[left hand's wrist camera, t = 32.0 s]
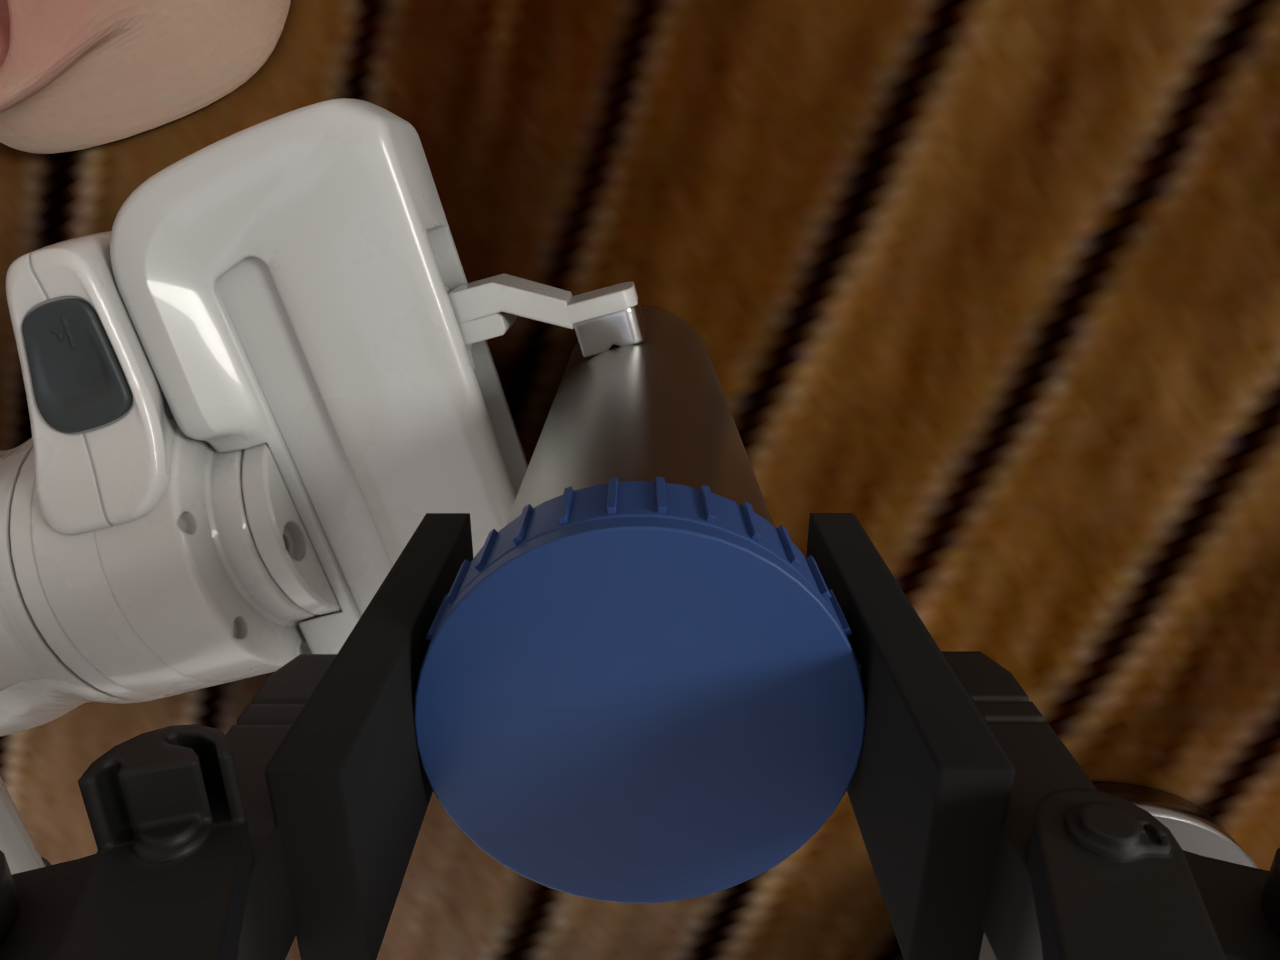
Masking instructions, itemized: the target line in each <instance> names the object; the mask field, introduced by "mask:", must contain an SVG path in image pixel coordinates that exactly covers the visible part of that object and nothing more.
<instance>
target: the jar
mask: <svg viewBox="0 0 1280 960" xmlns="http://www.w3.org/2000/svg"><path fill="white" fill-rule="evenodd" d="M640 308H641V312H642V316H643V321H644V325H645V329H646V336H647V337H646V339H645V340H643V341H641V342H639V343H636V344H633V345H629V346H623V347H621V346H618V345H615V344H613V345H612V346H611V347H610V349H609V350H607V351H605V352H602V353H600V354H596V355H592V356H588V357H583V354H582V351H581V348H580V345H579V342H578V341H577V343H576V345H575V347H574V349H573V351H572V354H571V357H570V359H569V362H568V364H567V367H566V370H565V372H564V375H563V377H562V380H561V383H560V385H559V388H558V390H557V393H556V396H555V398H554V401H553V403H552V406H551V409H550V411H549V414H548V416H547V419H546V422H545V424H544V427H543V429H542V432H541V435H540V437H539V440H538V442H537V445H536V448H535V450H534V453H533V455H532V458H531V461H530V463H529V466H528V468H527V471H526V474H525V476H524V479H523V481H522V484H521V487H520V489H519V492H518V494H517V497H516V500H515V502H514V505H513V507H512V510H511V513H510V515H509V518H508V520H507V523H506V525H508V524H509V523H510V522H512V521H513V520H514V519H516V518H517V517H519V516H520V515H521V513H522V510H523V508H524V507H525V506H526V505H528V504H530V505H531V506H532V507H533V508H534V507H536V506H538V505H540V504H541V503H543V502H545V501H548V500H550V499H553V498H555V497H558V496H561V495H563V493H564V489H565V488H568V487H571V486H572V488H573V491H575V490H579V489H583V488H587V487H591V486H595V485H600V484H608V483H609V479H610V478H615V477H617V478H618V482H624V481H655V482H656V477H664V482H665V483H671V484H679V485H685V486H689V487H693V488H697V489H701V487H702V485H706V486H709V487H710V491H711V493H714V494H717V495H719V496H722V497H724V498H727V499H729V500H732V501H734V502H736V503H738V504H740V505H742V504H743V503H744V501H746V502H748V503H750V504H751V505H752V508H753V511H754V512H755V513H756V514H758V515H760V516H761V517H762V518H764V519H765V520H767V521H768V522H769V523H771V524H772V525H773V526H774V524H773V521H772V519H771V516H770V513H769V511H768V508H767V506H766V503H765V500H764V498H763V495H762V492H761V490H760V487H759V485H758V482H757V479H756V477H755V474H754V472H753V469H752V466H751V464H750V461H749V459H748V456H747V453H746V451H745V448H744V446H743V443H742V440H741V438H740V435H739V433H738V430H737V427H736V425H735V422H734V420H733V417H732V414H731V412H730V409H729V406H728V404H727V401H726V399H725V396H724V393H723V391H722V388H721V386H720V383H719V380H718V378H717V375H716V373H715V370H714V367H713V365H712V362H711V360H710V357H709V354H708V352H707V350H706V347H705V345H704V343H703V342H702V340H701V338H700V337H699V336H698V334H697V333H696V332H695V330H694V329H693V328H692V327H691V326H690V325H688V324H687V323H686V322H685V321H684V320H682V319H681V318H679V317H678V316H676V315H674V314H672V313H670V312H668V311H665V310H662V309H659V308H654V307H647V306H640Z"/></svg>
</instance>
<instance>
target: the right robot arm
mask: <svg viewBox="0 0 1280 960" xmlns="http://www.w3.org/2000/svg"><path fill="white" fill-rule="evenodd" d="M6 296H7V302H8V307H9V312H10V317H11V322H12V326H13V331H14V335H15V340H16V344H17V349H18V354H19V359H20V364H21V369H22V374H23V380H24V385H25V391H26V396H27V403H28V409H29V416H30V423H31V432H32V438H30V439H29V440H27V441H26V442H24V443H23V444H21V445H20V446H18V447H16V448H13V449H10V450H0V736H4V735H9V734H13V733H17V732H21V731H25V730H28V729H31V728H34V727H37V726H40V725H43V724H46V723H48V722H51V721H53V720H55V719H57V718H59V717H61V716H63V715H64V714H66V713H68V712H70V711H71V710H73V709H75V708H76V707H78V706H80V705H81V704H84V703H87V702H102V703H116V704H128V703H139V702H147V701H152V700H156V699H160V698H165V697H169V696H174V695H178V694H181V693H186V692H190V691H194V690H199V689H203V688H207V687H211V686H216V685H220V684H224V683H228V682H233V681H237V680H241V679H245V678H249V677H254V676H258V675H262V674H266V673H271V672H275V671H277V670H278V669H280V668H281V667H283V666H284V665H285V664H287V663H288V662H290V661H291V660H293V659H294V658H296V657H297V656H298V655H300V654H338V652H339V651H340V649H341V648H342V646H343V644H344V643H345V641H346V640H347V638H348V636H349V635H350V633H351V632H352V630H353V629H354V627H355V625H356V624H357V622H358V621H359V619H360V617H361V616H362V614H363V613H364V611H365V610H366V608H367V606H368V605H369V603H370V602H371V600H372V598H373V597H374V595H375V594H376V592H377V591H378V589H379V587H380V586H381V584H382V583H383V581H384V580H385V578H386V576H387V575H388V573H389V572H390V570H391V568H392V567H393V565H394V564H395V562H396V561H397V559H398V557H399V556H400V554H401V553H402V551H403V549H404V548H405V546H406V545H407V543H408V542H409V540H410V538H411V537H412V535H413V534H414V532H415V530H416V529H417V527H418V526H419V524H420V523H421V521H422V519H423V518H424V516H425V515H426V513H470V520H471V533H472V546H473V558H474V557H475V556H476V555H477V553H478V552H479V551H480V549H481V548H482V547H483V546H484V544H485V541H486V539H487V536H488V534H489V532H490V531H492V530H493V529H495V530H496V531H497V532H499V531H500V530H501V529H502V528H504V527H505V526H506V523H507V520H508V518H509V515H510V513H511V510H512V507H513V505H514V502H515V500H516V497H517V494H518V492H519V489H520V487H521V484H522V481H523V479H524V476H525V474H526V471H527V468H528V463H527V460H526V457H525V454H524V451H523V448H522V445H521V442H520V439H519V436H518V433H517V430H516V427H515V424H514V421H513V418H512V415H511V412H510V409H509V406H508V403H507V400H506V397H505V394H504V391H503V388H502V385H501V382H500V379H499V376H498V373H497V370H496V367H495V364H494V361H493V358H492V355H491V352H490V349H489V346H488V343H487V339H490V338H494V337H498V336H501V335H504V334H505V332H506V331H507V330H508V329H509V328H510V327H511V325H512V324H513V323H514V322H515V320H516V318H517V316H521V317H525V318H529V319H533V320H537V321H542V322H546V323H550V324H554V325H558V326H562V327H566V328H570V329H575V332H576V335H577V338H578V342H579V345H580V348H581V351H582V354H583V357H588V356H592V355H596V354H600V353H602V352H605V351H607V350H609V349H610V347H611V346H612V345H613V344H615V345H618V346H621V347H623V346H629V345H633V344H636V343H639V342H641V341H643V340H645V339H646V337H647V336H646V329H645V325H644V321H643V316H642V312H641V308H640V304H639V300H638V296H637V293H636V289H635V285H634V282H624V283H619V284H616V285H612V286H608V287H605V288H601V289H597V290H594V291H590V292H586V293H582V294H579V295H575V296H572V293H571V292H570V291H566V290H562V289H559V288H555V287H552V286H548V285H544V284H541V283H537V282H534V281H530V280H526V279H523V278H519V277H516V276H512V275H508V274H505V273H504V274H500V275H496V276H493V277H489V278H485V279H482V280H478V281H475V282H471V283H467V280H466V277H465V274H464V271H463V268H462V265H461V262H460V259H459V256H458V253H457V250H456V247H455V244H454V241H453V238H452V235H451V232H450V229H449V226H448V223H447V220H446V217H445V214H444V211H443V208H442V205H441V202H440V199H439V196H438V193H437V190H436V187H435V184H434V180H433V177H432V174H431V171H430V168H429V165H428V162H427V159H426V156H425V153H424V150H423V147H422V144H421V141H420V138H419V136H418V133H417V132H416V130H415V128H414V127H413V126H412V125H411V124H410V123H409V122H407V121H405V120H404V119H402V118H400V117H398V116H397V115H395V114H393V113H391V112H389V111H388V110H386V109H384V108H381V107H379V106H377V105H375V104H372V103H369V102H367V101H364V100H358V99H348V98H341V99H331V100H327V101H323V102H319V103H315V104H312V105H309V106H305V107H302V108H299V109H296V110H293V111H291V112H288V113H285V114H282V115H280V116H277V117H274V118H272V119H269V120H266V121H264V122H261V123H259V124H256V125H254V126H252V127H249V128H247V129H244V130H242V131H239V132H237V133H235V134H233V135H231V136H228V137H226V138H224V139H222V140H220V141H217V142H215V143H213V144H211V145H209V146H207V147H205V148H203V149H201V150H199V151H197V152H195V153H193V154H191V155H189V156H187V157H185V158H183V159H181V160H179V161H177V162H175V163H174V164H172V165H170V166H168V167H166V168H165V169H163V170H161V171H160V172H158V173H156V174H155V175H153V176H152V177H150V178H149V179H147V180H146V181H145V182H144V183H142V184H141V185H140V186H139V187H138V188H137V189H135V190H134V191H133V192H132V193H131V194H130V196H129V197H128V198H127V199H126V200H125V202H124V203H123V205H122V206H121V208H120V210H119V211H118V213H117V215H116V218H115V221H114V223H113V226H112V231H108V232H102V233H95V234H90V235H86V236H82V237H77V238H73V239H69V240H66V241H62V242H58V243H55V244H52V245H49V246H46V247H43V248H41V249H38V250H35V251H33V252H30V253H27V254H25V255H23V256H21V257H19V258H18V259H16V260H15V261H13V263H12V264H11V265H10V267H9V269H8V271H7V275H6ZM0 850H1V851H2V852H3V853H4V855H5V857H6V860H7V863H8V866H9V869H10V872H11V875H12V874H16V873H21V872H25V871H29V870H34V869H38V868H42V867H46V866H51V864H50V863H49V862H48V861H47V860H46V859H44V858H43V857H41V856H40V854H39V852H38V850H37V848H36V846H35V844H34V842H33V840H32V838H31V836H30V834H29V832H28V830H27V828H26V826H25V824H24V822H23V820H22V818H21V816H20V814H19V812H18V810H17V808H16V806H15V804H14V802H13V800H12V798H11V796H10V794H9V793H8V791H7V789H6V787H5V785H4V783H3V781H2V779H1V777H0Z"/></svg>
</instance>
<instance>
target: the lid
mask: <svg viewBox="0 0 1280 960" xmlns="http://www.w3.org/2000/svg"><path fill="white" fill-rule="evenodd" d="M851 634H852V632H851V630H850V628H849V626H848V623H847V621H846V619H845V617H844V615H843V613H842V610H841V608H840V606H839V604H838V602H837V600H836V597H835V595H834V593H833V591H832V589H831V590H828V588H827V586H826V584H825V581H824V579H823V577H822V575H821V573H820V570H819V568H818V566H817V564H816V562H815V560H814V558H813V557H812V556H811V555H810V556H808V557H807V558H805V556H804V555H803V554H802V552H801V551H800V550H799V549H798V547H796V546H795V545H794V544H793V543H792V541H791V539H790V536H789V534H788V531H787V529H786V528H785V527H783V526H782V525H781V526H780V527H779V528H778V529H777V528H776V527H775V526H773V525H772V524H771V523H769V522H768V521H767V520H765V519H764V518H762V517H761V516H760V515H758V514H756V513H755V512H754V511H753V508H752V505H751V504H750V503H748V502H746V501H744V503H743V504H742V505H740V504H738V503H736V502H734V501H732V500H729V499H727V498H724V497H722V496H719V495H717V494H714V493H711V491H710V487H709V486H706V485H702V487H701V489H697V488H693V487H689V486H685V485H679V484H671V483H665V482H664V477H656V482H655V481H624V482H618V478H617V477H615V478H610V479H609V483H608V484H600V485H595V486H591V487H587V488H583V489H579V490H575V491H573V488H572V486H571V487H568V488H565V489H564V493H563V495H561V496H558V497H555V498H553V499H550V500H548V501H545V502H543V503H541V504H540V505H538V506H536V507H534V508H533V507H532V506H531V505H530V504H528V505H526V506H525V507H524V508H523V510H522V513H521V515H520V516H519V517H517V518H516V519H514V520H513V521H512V522H510V523H509V524H508V525H506V526H505V527H504V528H502V529H501V530H500V531H499V532H497V531H496V530H495V529H493V530H492V531H490V532H489V534H488V536H487V539H486V541H485V544H484V546H483V547H482V548H481V549H480V551H479V552H478V553H477V555H476V556H475V557H474V558H473V560H472V561H471V562H470V561H468V560H466V559H465V561H464V562H463V563H462V565H461V567H460V570H459V572H458V574H457V576H456V578H455V581H454V583H453V585H452V587H451V589H450V591H449V594H446V595H445V597H444V599H443V601H442V604H441V606H440V608H439V610H438V612H437V614H436V617H435V619H434V621H433V623H432V625H431V627H430V629H429V632H428V634H427V637H426V639H427V640H429V641H431V642H430V645H429V647H428V650H427V652H426V655H425V658H424V660H423V663H422V666H421V668H420V671H419V677H418V682H417V687H416V692H415V704H414V724H415V733H416V742H417V747H418V751H419V754H420V758H421V762H422V765H423V769H424V771H425V773H426V776H427V778H428V780H429V782H430V785H431V787H432V789H433V792H434V793H435V795H436V796H437V798H438V800H439V801H440V803H441V804H442V806H443V808H444V809H445V811H446V812H447V814H448V815H449V816H450V817H451V818H452V820H453V821H454V822H455V823H456V824H457V826H458V827H459V828H460V829H461V830H462V832H463V833H464V834H466V835H467V836H468V837H469V838H470V839H471V840H472V841H473V842H474V843H475V844H476V845H477V846H478V847H479V848H481V849H482V850H483V851H485V852H486V853H487V854H489V855H490V856H491V857H493V858H494V859H495V860H497V861H498V862H500V863H501V864H502V865H504V866H506V867H508V868H510V869H511V870H513V871H515V872H517V873H518V874H520V875H522V876H524V877H526V878H528V879H530V880H533V881H535V882H537V883H540V884H542V885H544V886H547V887H549V888H552V889H556V890H559V891H562V892H565V893H568V894H572V895H575V896H580V897H585V898H590V899H595V900H600V901H610V902H621V903H659V902H669V901H679V900H685V899H689V898H694V897H699V896H704V895H708V894H711V893H715V892H718V891H721V890H724V889H727V888H731V887H733V886H735V885H738V884H740V883H742V882H745V881H747V880H749V879H752V878H754V877H756V876H758V875H760V874H761V873H763V872H765V871H767V870H768V869H770V868H772V867H774V866H775V865H777V864H779V863H780V862H781V861H783V860H784V859H786V858H787V857H788V856H790V855H791V854H792V853H794V852H795V851H797V850H798V849H799V848H800V847H801V846H802V845H803V844H804V843H806V842H807V841H808V840H809V839H810V838H811V837H812V836H813V835H814V834H815V833H816V832H817V831H818V830H819V829H820V828H821V826H822V825H823V824H824V823H825V822H826V820H827V819H828V818H829V817H830V816H831V814H832V813H833V812H834V810H835V809H836V807H837V805H838V804H839V802H840V801H841V799H842V797H843V796H844V794H845V793H846V791H847V788H848V786H849V784H850V782H851V779H852V777H853V775H854V773H855V770H856V767H857V764H858V760H859V757H860V753H861V749H862V746H863V739H864V730H865V721H866V714H865V694H864V689H863V684H862V679H861V665H860V663H859V661H858V658H857V656H856V654H855V652H854V650H853V647H852V645H851V643H850V641H849V638H848V636H849V635H851Z"/></svg>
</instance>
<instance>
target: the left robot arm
mask: <svg viewBox="0 0 1280 960" xmlns="http://www.w3.org/2000/svg"><path fill="white" fill-rule="evenodd" d="M810 555H811V556H812V557H813V558H814V560H815V562H816V564H817V566H818V568H819V570H820V573H821V575H822V577H823V579H824V581H825V584H826V586H827V588H828V590H831V589H832V591H833V593H834V595H835V597H836V600H837V602H838V604H839V606H840V608H841V610H842V613H843V615H844V617H845V619H846V621H847V623H848V626H849V628H850V630H851V632H852V634H851V635H849V636H848V638H849V641H850V643H851V645H852V647H853V650H854V652H855V654H856V656H857V658H858V661H859V663H860V665H861V679H862V684H863V689H864V694H865V714H866V721H865V730H864V739H863V746H862V749H861V753H860V757H859V760H858V764H857V767H856V770H855V773H854V775H853V777H852V779H851V782H850V784H849V786H848V788H847V792H848V795H849V798H850V801H851V804H852V807H853V810H854V813H855V816H856V819H857V822H858V825H859V828H860V831H861V834H862V837H863V840H864V843H865V846H866V849H867V852H868V855H869V858H870V860H871V863H872V866H873V869H874V872H875V875H876V878H877V881H878V884H879V887H880V890H881V893H882V896H883V899H884V902H885V905H886V908H887V911H888V914H889V917H890V920H891V923H892V926H893V929H894V932H895V935H896V938H897V941H898V944H899V947H900V950H901V953H902V956H903V959H904V960H1280V848H1279V849H1277V851H1276V854H1275V857H1274V860H1273V863H1272V866H1271V869H1270V871H1266V870H1262V869H1258V868H1257V866H1256V865H1255V864H1254V862H1253V861H1252V860H1251V858H1250V857H1249V856H1248V855H1247V854H1246V853H1245V852H1244V851H1243V850H1242V848H1241V847H1240V846H1239V845H1238V844H1237V843H1236V842H1235V841H1234V839H1233V838H1232V837H1231V836H1230V835H1229V834H1228V833H1227V832H1226V830H1225V829H1224V828H1223V827H1222V826H1221V825H1220V824H1219V823H1218V822H1217V821H1216V820H1215V819H1214V818H1213V817H1212V816H1210V815H1209V814H1208V813H1206V812H1205V811H1204V810H1203V809H1201V808H1199V807H1198V806H1196V805H1194V804H1193V803H1191V802H1189V801H1187V800H1185V799H1183V798H1181V797H1179V796H1176V795H1174V794H1171V793H1168V792H1165V791H1162V790H1158V789H1154V788H1150V787H1146V786H1139V785H1133V784H1121V783H1092V782H1091V780H1090V779H1089V777H1088V776H1087V775H1086V773H1085V772H1084V771H1083V769H1082V768H1081V767H1080V765H1079V764H1078V763H1077V761H1076V760H1075V759H1074V757H1073V756H1072V755H1071V753H1070V752H1069V751H1068V749H1067V748H1066V747H1065V745H1064V744H1063V743H1062V741H1061V740H1060V739H1059V737H1058V736H1057V735H1056V733H1055V732H1054V731H1053V729H1052V728H1051V726H1050V725H1049V724H1048V722H1044V720H1043V718H1044V717H1043V716H1042V714H1041V713H1040V712H1039V710H1038V709H1037V708H1036V706H1035V705H1034V704H1033V702H1029V700H1028V696H1027V694H1026V693H1025V692H1024V690H1023V689H1022V688H1021V686H1020V685H1019V684H1018V682H1017V681H1016V679H1015V678H1014V677H1013V675H1012V674H1011V673H1010V672H1009V671H1007V670H1006V669H1004V668H1003V667H1002V666H1000V665H999V664H997V663H996V662H994V661H993V660H991V659H990V658H989V657H987V656H986V655H984V654H983V653H981V652H941V651H940V649H939V648H938V646H937V644H936V643H935V641H934V640H933V638H932V637H931V635H930V633H929V632H928V630H927V629H926V627H925V626H924V624H923V622H922V621H921V619H920V618H919V616H918V614H917V613H916V611H915V610H914V608H913V607H912V605H911V603H910V602H909V600H908V599H907V597H906V595H905V594H904V592H903V591H902V589H901V588H900V586H899V584H898V583H897V581H896V580H895V578H894V576H893V575H892V573H891V572H890V570H889V569H888V567H887V565H886V564H885V562H884V561H883V559H882V557H881V556H880V554H879V553H878V551H877V550H876V548H875V546H874V545H873V543H872V542H871V540H870V539H869V537H868V535H867V534H866V532H865V531H864V529H863V527H862V526H861V524H860V523H859V521H858V520H857V518H856V516H855V515H854V513H810V519H809V532H808V545H807V557H808V556H810ZM807 557H806V558H807ZM465 559H466V560H468V561H470V562H471V561H472V560H473V546H472V533H471V520H470V513H426V515H425V516H424V518H423V519H422V521H421V523H420V524H419V526H418V527H417V529H416V530H415V532H414V534H413V535H412V537H411V538H410V540H409V542H408V543H407V545H406V546H405V548H404V549H403V551H402V553H401V554H400V556H399V557H398V559H397V561H396V562H395V564H394V565H393V567H392V568H391V570H390V572H389V573H388V575H387V576H386V578H385V580H384V581H383V583H382V584H381V586H380V587H379V589H378V591H377V592H376V594H375V595H374V597H373V598H372V600H371V602H370V603H369V605H368V606H367V608H366V610H365V611H364V613H363V614H362V616H361V617H360V619H359V621H358V622H357V624H356V625H355V627H354V629H353V630H352V632H351V633H350V635H349V636H348V638H347V640H346V641H345V643H344V644H343V646H342V648H341V649H340V651H339V652H338V654H300V655H298V656H297V657H296V658H294V659H293V660H291V661H290V662H288V663H287V664H285V665H284V666H283V667H281V668H280V669H278V670H277V671H275V672H274V673H272V674H271V675H270V676H269V677H268V679H267V680H266V681H265V683H264V684H263V685H262V687H261V688H260V689H259V691H258V692H257V694H256V695H255V696H254V698H253V699H252V704H248V706H247V707H246V708H245V710H244V711H243V712H242V714H241V715H240V716H239V718H238V719H237V724H236V725H233V726H232V727H231V729H230V730H229V731H228V733H227V734H226V735H224V734H223V733H222V732H221V731H220V730H218V729H216V728H211V727H207V726H202V725H198V724H196V725H180V726H169V727H166V728H162V729H158V730H154V731H151V732H147V733H143V734H141V735H139V736H136V737H134V738H132V739H130V740H128V741H126V742H123V743H121V744H119V745H117V746H115V747H113V748H112V749H111V750H109V751H108V752H107V753H105V754H104V755H102V756H101V757H100V758H98V759H97V760H96V761H94V762H93V763H92V764H91V765H90V766H89V768H88V769H87V770H86V772H85V773H84V774H83V775H82V777H81V778H80V779H79V781H78V783H79V787H80V790H81V794H82V797H83V800H84V804H85V807H86V811H87V814H88V817H89V821H90V824H91V827H92V831H93V834H94V838H95V841H96V844H97V848H98V851H97V854H94V855H91V856H87V857H84V858H81V859H77V860H72V861H68V862H64V863H59V864H55V865H51V866H46V867H42V868H38V869H34V870H29V871H25V872H21V873H16V874H12V875H11V872H10V869H9V866H8V863H7V860H6V857H5V855H4V853H3V852H2V851H1V850H0V960H285V958H286V956H287V954H288V952H289V949H290V947H291V945H292V943H293V941H294V938H295V936H297V941H298V946H299V951H300V956H301V960H376V958H377V955H378V952H379V949H380V946H381V943H382V941H383V938H384V935H385V932H386V929H387V926H388V923H389V920H390V917H391V914H392V911H393V908H394V905H395V902H396V899H397V896H398V893H399V890H400V887H401V884H402V881H403V878H404V875H405V872H406V869H407V866H408V863H409V860H410V857H411V854H412V851H413V848H414V845H415V842H416V839H417V836H418V834H419V831H420V828H421V825H422V822H423V819H424V816H425V813H426V810H427V807H428V804H429V801H430V798H431V795H432V792H433V789H432V787H431V785H430V782H429V780H428V778H427V776H426V773H425V771H424V769H423V765H422V762H421V758H420V754H419V751H418V747H417V742H416V733H415V724H414V704H415V692H416V687H417V682H418V677H419V671H420V668H421V666H422V663H423V660H424V658H425V655H426V652H427V650H428V647H429V645H430V642H431V641H429V640H427V639H426V637H427V634H428V632H429V629H430V627H431V625H432V623H433V621H434V619H435V617H436V614H437V612H438V610H439V608H440V606H441V604H442V601H443V599H444V597H445V595H446V594H449V591H450V589H451V587H452V585H453V583H454V581H455V578H456V576H457V574H458V572H459V570H460V567H461V565H462V563H463V562H464V561H465Z"/></svg>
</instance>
